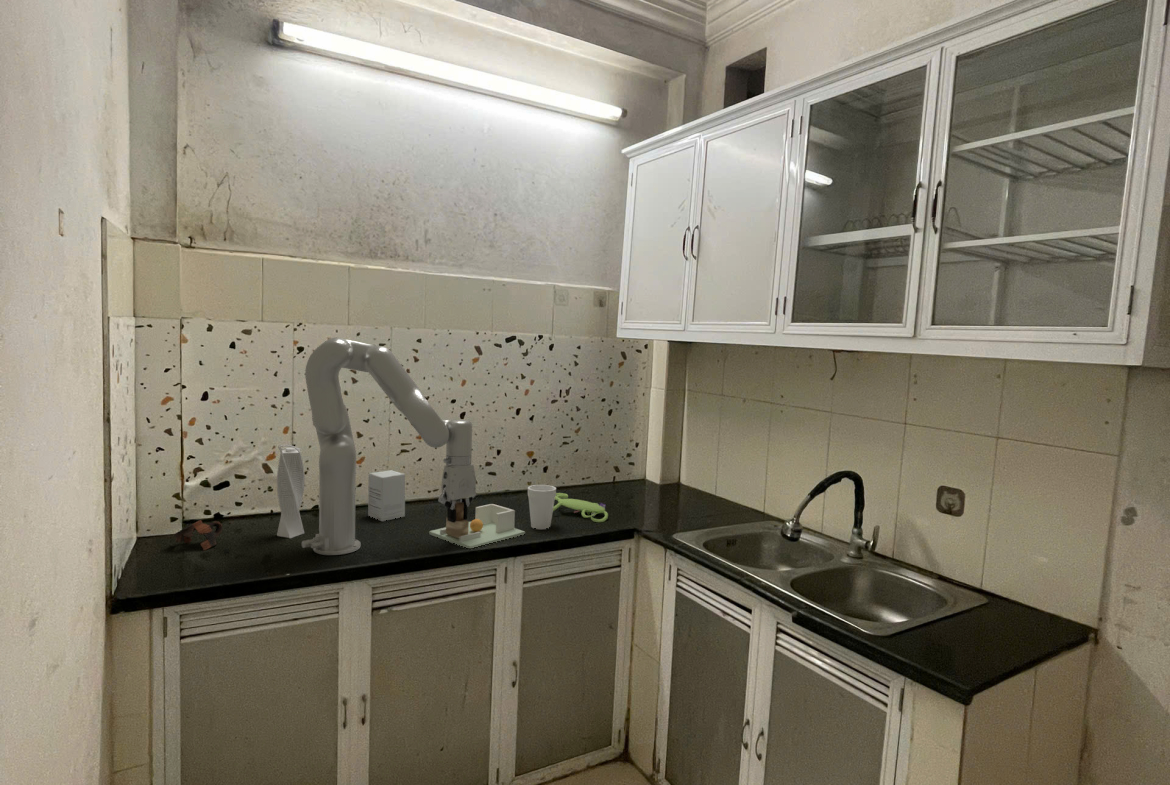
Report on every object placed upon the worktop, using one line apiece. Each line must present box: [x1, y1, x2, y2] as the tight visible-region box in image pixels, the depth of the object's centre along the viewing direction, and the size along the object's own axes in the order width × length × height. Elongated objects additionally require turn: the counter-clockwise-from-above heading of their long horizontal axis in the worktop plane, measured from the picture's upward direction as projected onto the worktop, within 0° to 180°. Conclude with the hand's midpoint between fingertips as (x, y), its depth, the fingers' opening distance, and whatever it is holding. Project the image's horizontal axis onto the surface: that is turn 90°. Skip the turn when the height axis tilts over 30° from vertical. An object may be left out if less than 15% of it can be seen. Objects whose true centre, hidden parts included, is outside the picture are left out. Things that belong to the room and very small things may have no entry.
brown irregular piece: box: [174, 519, 223, 551], centre depth 179 cm, size 12×10×8 cm
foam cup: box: [527, 484, 557, 530], centre depth 210 cm, size 10×9×13 cm
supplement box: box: [367, 469, 406, 522], centre depth 214 cm, size 9×9×15 cm
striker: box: [445, 501, 470, 539], centre depth 192 cm, size 4×7×10 cm, turn 49°
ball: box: [470, 519, 483, 532], centre depth 198 cm, size 4×4×4 cm
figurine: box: [553, 492, 609, 523], centre depth 229 cm, size 18×27×6 cm
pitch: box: [428, 503, 526, 549], centre depth 199 cm, size 22×20×7 cm
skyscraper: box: [276, 444, 306, 539], centre depth 190 cm, size 8×8×28 cm
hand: (457, 519), depth 192 cm, fingers closed on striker, 3 cm apart
